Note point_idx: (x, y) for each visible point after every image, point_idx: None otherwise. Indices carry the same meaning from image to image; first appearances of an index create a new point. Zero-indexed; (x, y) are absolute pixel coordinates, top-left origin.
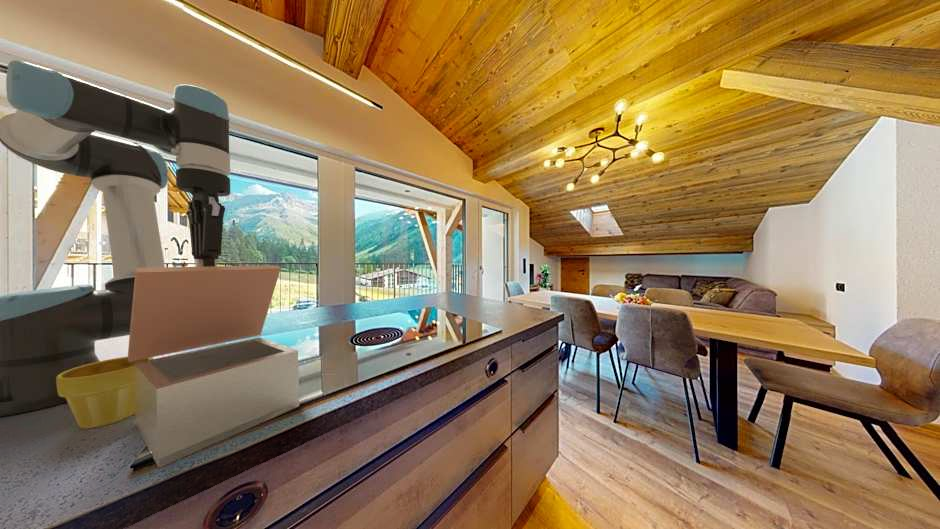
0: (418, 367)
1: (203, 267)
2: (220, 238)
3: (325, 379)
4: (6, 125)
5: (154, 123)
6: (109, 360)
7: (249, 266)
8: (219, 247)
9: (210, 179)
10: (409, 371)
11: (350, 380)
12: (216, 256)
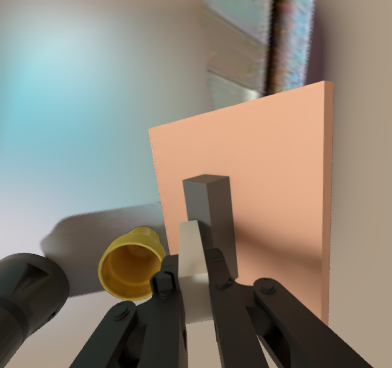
0: None
1: (322, 290)
2: (347, 351)
3: (221, 71)
4: None
5: None
6: (101, 274)
7: (325, 185)
8: (299, 308)
9: None
10: None
11: (252, 49)
12: (235, 283)
